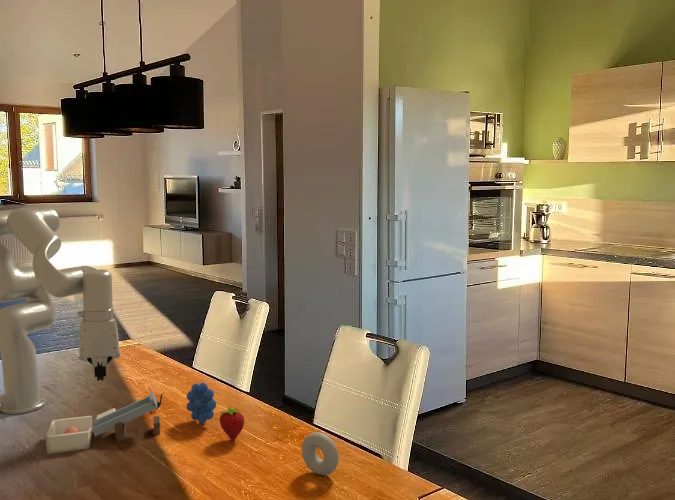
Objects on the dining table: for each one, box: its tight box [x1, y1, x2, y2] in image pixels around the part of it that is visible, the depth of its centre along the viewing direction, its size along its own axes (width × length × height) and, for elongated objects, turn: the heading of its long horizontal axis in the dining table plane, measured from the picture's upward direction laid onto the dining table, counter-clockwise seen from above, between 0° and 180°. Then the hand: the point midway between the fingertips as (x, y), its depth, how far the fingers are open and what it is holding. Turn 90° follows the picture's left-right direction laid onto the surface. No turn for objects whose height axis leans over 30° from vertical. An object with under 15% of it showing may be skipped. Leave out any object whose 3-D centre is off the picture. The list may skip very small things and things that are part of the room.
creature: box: [144, 392, 164, 414], centre depth 193 cm, size 8×5×8 cm
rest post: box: [152, 415, 161, 436], centre depth 178 cm, size 2×5×3 cm, turn 16°
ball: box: [64, 427, 78, 434], centre depth 172 cm, size 4×4×4 cm
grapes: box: [186, 382, 217, 425], centre depth 183 cm, size 12×7×12 cm, turn 52°
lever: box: [92, 391, 158, 437], centre depth 178 cm, size 17×13×4 cm
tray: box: [45, 415, 94, 455], centre depth 172 cm, size 10×12×4 cm
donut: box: [301, 431, 340, 476], centre depth 150 cm, size 10×4×10 cm, turn 54°
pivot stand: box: [114, 423, 127, 443], centre depth 175 cm, size 2×7×5 cm, turn 16°
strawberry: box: [218, 404, 245, 441], centre depth 170 cm, size 6×8×10 cm
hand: (100, 378), depth 181 cm, fingers closed
